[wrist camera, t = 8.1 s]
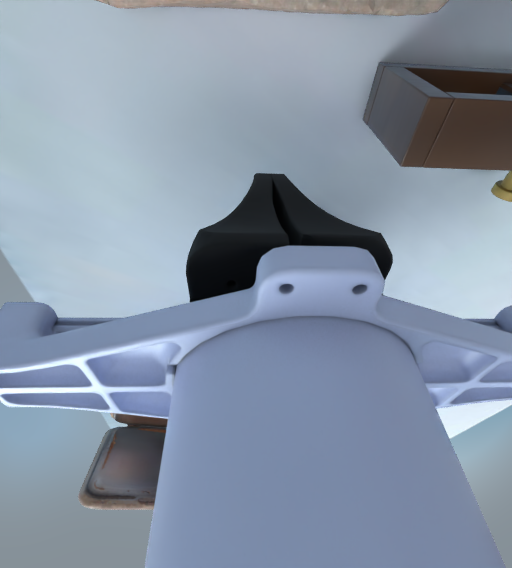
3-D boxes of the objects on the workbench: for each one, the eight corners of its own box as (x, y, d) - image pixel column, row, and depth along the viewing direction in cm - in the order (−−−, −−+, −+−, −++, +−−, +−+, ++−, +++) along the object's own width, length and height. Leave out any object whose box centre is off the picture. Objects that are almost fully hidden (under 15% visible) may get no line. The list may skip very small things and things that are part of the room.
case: (110, 415, 56) (78, 524, 45) (113, 361, 42) (68, 501, 31) (216, 424, 62) (211, 523, 51) (250, 379, 48) (253, 503, 37)
